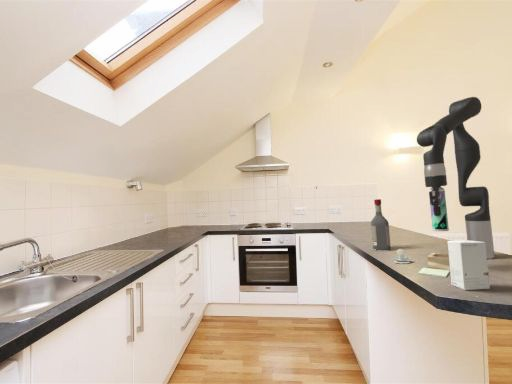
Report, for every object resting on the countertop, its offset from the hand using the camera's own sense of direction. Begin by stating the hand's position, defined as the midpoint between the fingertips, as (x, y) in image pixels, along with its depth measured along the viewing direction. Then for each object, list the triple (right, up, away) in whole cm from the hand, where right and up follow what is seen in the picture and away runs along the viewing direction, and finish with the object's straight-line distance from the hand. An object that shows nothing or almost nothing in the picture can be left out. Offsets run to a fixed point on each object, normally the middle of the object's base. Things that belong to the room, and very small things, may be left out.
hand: (439, 214), depth 107 cm
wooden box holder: (+1, -22, -1) cm, 22 cm away
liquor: (-2, -25, +45) cm, 52 cm away
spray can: (+1, -7, 0) cm, 7 cm away
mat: (-7, -22, -7) cm, 24 cm away
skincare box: (-8, -21, -25) cm, 34 cm away
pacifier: (-9, -24, +11) cm, 28 cm away
